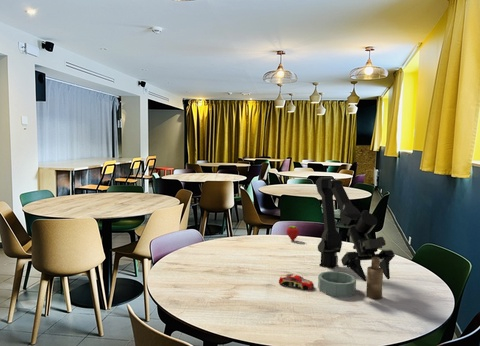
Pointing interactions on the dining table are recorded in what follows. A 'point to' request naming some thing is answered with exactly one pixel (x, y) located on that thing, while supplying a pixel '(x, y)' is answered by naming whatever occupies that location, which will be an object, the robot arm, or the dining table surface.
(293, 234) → the strawberry
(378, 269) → the walnut bottle
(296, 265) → the dining table surface
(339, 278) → the bowl
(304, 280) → the race car
